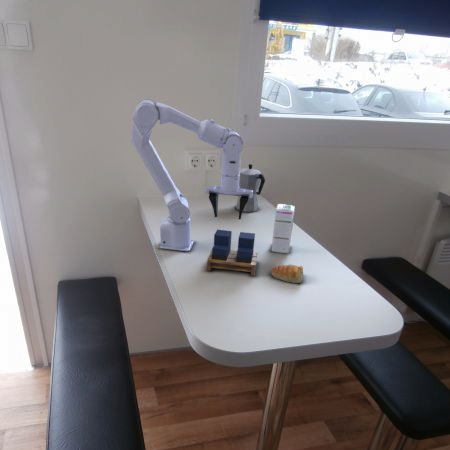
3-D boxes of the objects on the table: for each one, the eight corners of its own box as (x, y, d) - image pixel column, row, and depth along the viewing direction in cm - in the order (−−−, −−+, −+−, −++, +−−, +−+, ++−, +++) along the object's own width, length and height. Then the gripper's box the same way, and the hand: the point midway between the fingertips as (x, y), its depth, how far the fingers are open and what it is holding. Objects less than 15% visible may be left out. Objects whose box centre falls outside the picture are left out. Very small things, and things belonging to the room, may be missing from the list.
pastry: (269, 280, 116) (270, 268, 114) (271, 269, 122) (273, 258, 120) (301, 284, 115) (304, 272, 113) (303, 274, 121) (305, 262, 119)
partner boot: (238, 251, 123) (240, 231, 120) (253, 253, 123) (255, 233, 120) (236, 261, 117) (237, 240, 114) (251, 263, 117) (253, 242, 114)
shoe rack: (206, 270, 119) (207, 260, 117) (212, 258, 127) (212, 247, 125) (254, 276, 118) (255, 265, 116) (256, 263, 126) (257, 252, 124)
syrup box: (288, 253, 133) (294, 210, 125) (270, 251, 133) (275, 208, 126) (289, 246, 137) (295, 205, 130) (272, 244, 138) (277, 203, 131)
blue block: (216, 249, 124) (217, 229, 121) (230, 251, 124) (231, 231, 120) (211, 259, 118) (212, 238, 115) (226, 260, 118) (227, 240, 114)
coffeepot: (228, 205, 171) (231, 161, 162) (245, 202, 176) (249, 159, 167) (252, 216, 161) (256, 170, 152) (269, 212, 166) (274, 167, 157)
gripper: (255, 173, 126) (251, 215, 133) (209, 169, 127) (207, 211, 134) (253, 179, 120) (249, 222, 127) (205, 174, 121) (203, 218, 128)
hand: (227, 217), depth 130 cm, fingers open, 7 cm apart
